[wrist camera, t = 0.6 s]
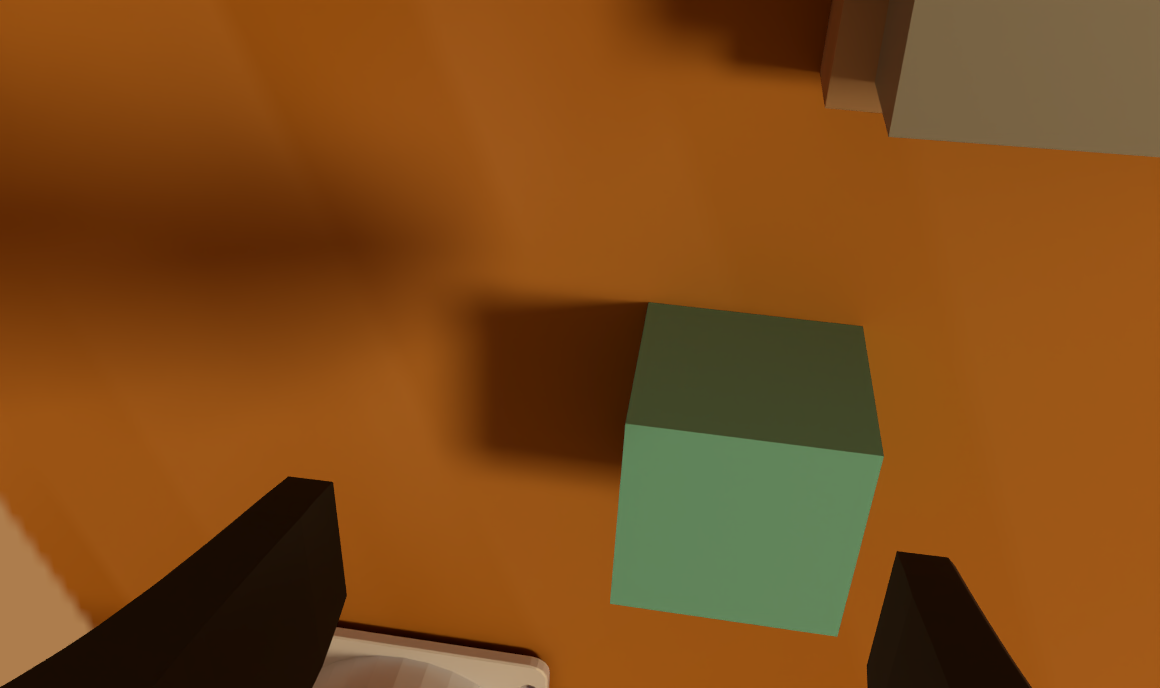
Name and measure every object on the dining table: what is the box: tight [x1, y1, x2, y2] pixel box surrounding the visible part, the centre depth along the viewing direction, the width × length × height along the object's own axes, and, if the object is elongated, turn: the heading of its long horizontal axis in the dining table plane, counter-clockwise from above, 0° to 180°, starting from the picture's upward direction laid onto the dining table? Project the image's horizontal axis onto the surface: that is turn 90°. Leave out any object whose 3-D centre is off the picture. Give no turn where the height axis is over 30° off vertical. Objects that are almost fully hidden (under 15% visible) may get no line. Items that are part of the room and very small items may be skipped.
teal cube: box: [610, 302, 884, 636], centre depth 21 cm, size 4×4×4 cm
